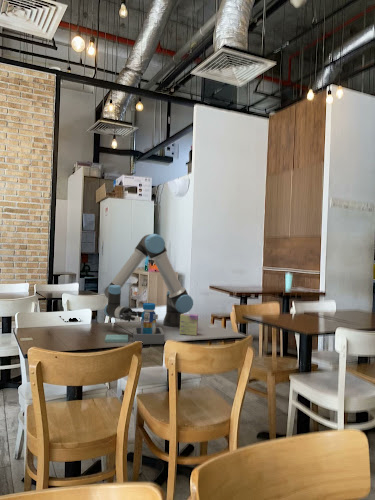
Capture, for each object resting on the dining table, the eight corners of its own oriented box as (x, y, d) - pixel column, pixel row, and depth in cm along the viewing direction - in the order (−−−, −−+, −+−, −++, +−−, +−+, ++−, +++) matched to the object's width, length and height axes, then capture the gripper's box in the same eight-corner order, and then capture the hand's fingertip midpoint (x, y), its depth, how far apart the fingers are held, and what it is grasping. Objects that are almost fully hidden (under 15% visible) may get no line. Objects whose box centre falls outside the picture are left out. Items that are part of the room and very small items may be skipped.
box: (197, 333, 243) (198, 314, 243) (196, 335, 237) (197, 315, 237) (180, 332, 244) (181, 313, 244) (179, 334, 238) (180, 314, 238)
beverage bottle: (137, 339, 223) (138, 303, 223) (150, 337, 228) (151, 302, 228) (145, 342, 216) (146, 305, 216) (158, 340, 221) (159, 304, 221)
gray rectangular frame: (160, 335, 233) (161, 327, 233) (164, 343, 213) (164, 334, 213) (133, 335, 231) (133, 327, 231) (133, 344, 211) (134, 334, 211)
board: (127, 337, 226) (128, 334, 226) (127, 342, 215) (128, 339, 215) (106, 337, 225) (106, 334, 225) (105, 342, 213) (105, 339, 213)
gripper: (139, 317, 245) (164, 322, 231) (106, 322, 226) (131, 327, 212) (140, 305, 245) (164, 309, 231) (106, 308, 226) (131, 313, 212)
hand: (148, 318), depth 221 cm, fingers open, 13 cm apart
